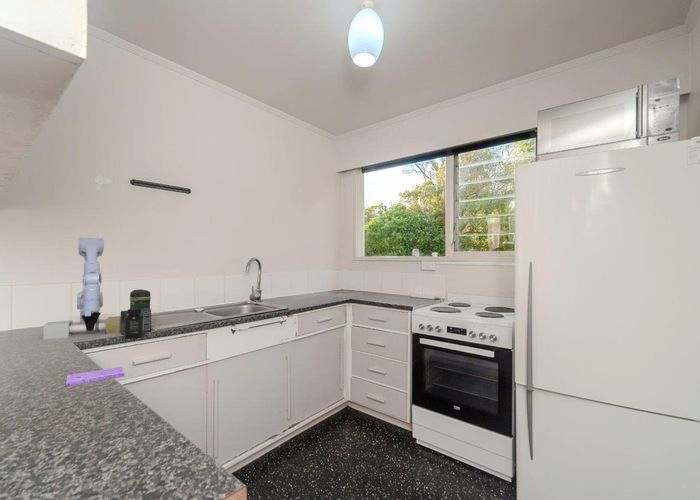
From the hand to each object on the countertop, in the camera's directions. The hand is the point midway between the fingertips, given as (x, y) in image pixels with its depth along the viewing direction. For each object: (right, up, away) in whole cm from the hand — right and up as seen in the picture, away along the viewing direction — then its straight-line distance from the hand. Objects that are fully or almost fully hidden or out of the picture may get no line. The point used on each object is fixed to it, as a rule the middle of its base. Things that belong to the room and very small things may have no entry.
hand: (91, 330), depth 144 cm
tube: (-2, -1, -1) cm, 3 cm away
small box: (+19, -2, +2) cm, 19 cm away
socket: (+7, -2, +4) cm, 9 cm away
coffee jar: (+12, -3, +15) cm, 19 cm away
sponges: (+45, -1, -54) cm, 70 cm away
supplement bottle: (+23, -2, -5) cm, 24 cm away
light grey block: (-10, -2, -6) cm, 11 cm away
